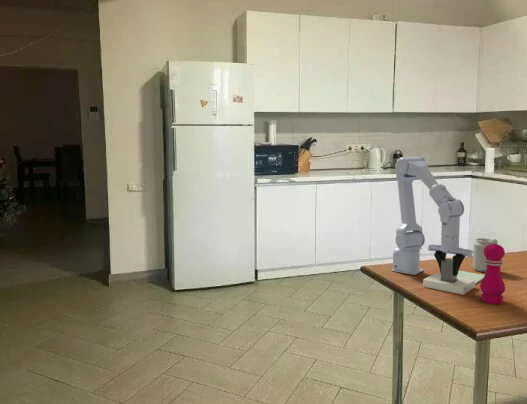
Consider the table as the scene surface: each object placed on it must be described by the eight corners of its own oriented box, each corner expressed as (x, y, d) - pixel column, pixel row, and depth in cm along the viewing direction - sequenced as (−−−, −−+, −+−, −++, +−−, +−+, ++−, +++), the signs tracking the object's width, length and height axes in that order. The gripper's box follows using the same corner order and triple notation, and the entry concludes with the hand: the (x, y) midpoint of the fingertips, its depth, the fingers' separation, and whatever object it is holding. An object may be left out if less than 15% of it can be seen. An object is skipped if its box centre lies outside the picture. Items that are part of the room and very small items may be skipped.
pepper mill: (503, 306, 151) (506, 242, 149) (477, 302, 155) (480, 240, 152) (505, 299, 157) (508, 238, 155) (481, 295, 161) (483, 235, 158)
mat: (441, 278, 181) (441, 276, 181) (454, 270, 189) (454, 269, 189) (474, 284, 172) (474, 283, 172) (486, 276, 181) (486, 275, 181)
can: (495, 268, 191) (496, 238, 189) (492, 273, 185) (493, 242, 183) (474, 266, 195) (475, 236, 193) (471, 271, 189) (472, 240, 187)
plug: (440, 283, 170) (441, 260, 169) (445, 280, 173) (446, 258, 172) (452, 285, 168) (452, 262, 167) (456, 282, 171) (457, 260, 169)
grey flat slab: (422, 286, 172) (423, 279, 172) (435, 279, 179) (435, 273, 179) (463, 294, 162) (463, 287, 162) (474, 287, 170) (474, 280, 169)
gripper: (424, 234, 170) (423, 272, 172) (467, 240, 160) (465, 280, 162) (433, 231, 175) (432, 268, 177) (475, 236, 165) (473, 275, 167)
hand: (448, 273), depth 170 cm, fingers closed on plug, 4 cm apart
